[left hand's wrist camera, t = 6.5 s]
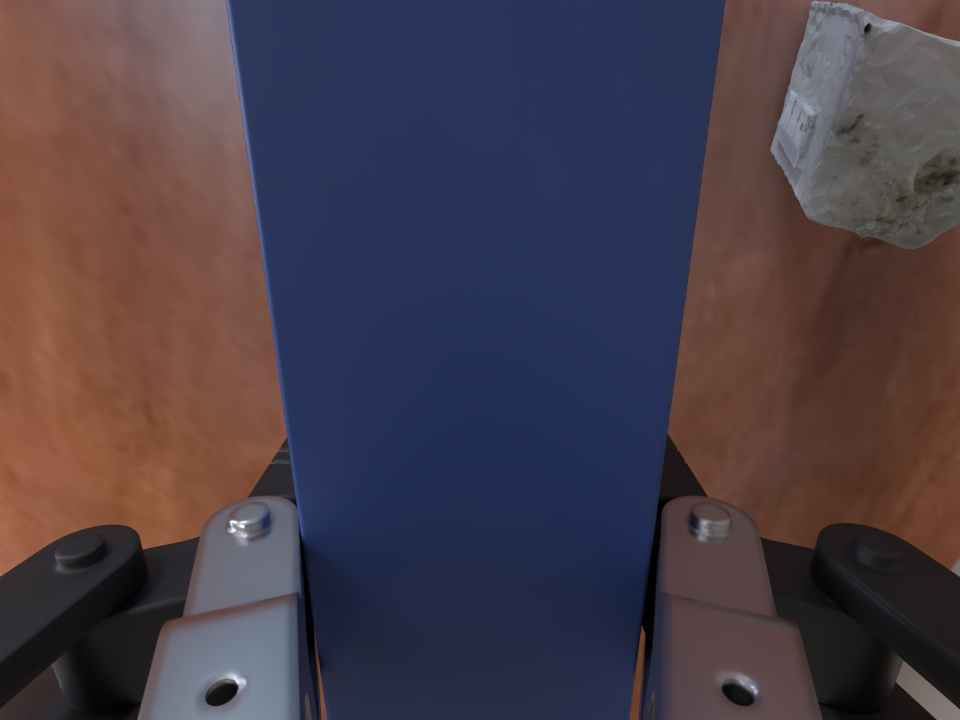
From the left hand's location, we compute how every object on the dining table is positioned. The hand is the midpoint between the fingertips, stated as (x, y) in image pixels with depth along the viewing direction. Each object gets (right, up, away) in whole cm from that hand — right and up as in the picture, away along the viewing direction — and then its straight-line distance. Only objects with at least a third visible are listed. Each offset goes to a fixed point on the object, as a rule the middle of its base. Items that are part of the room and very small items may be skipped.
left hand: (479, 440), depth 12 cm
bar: (0, +10, 0) cm, 10 cm away
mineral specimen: (+13, +11, +9) cm, 19 cm away
